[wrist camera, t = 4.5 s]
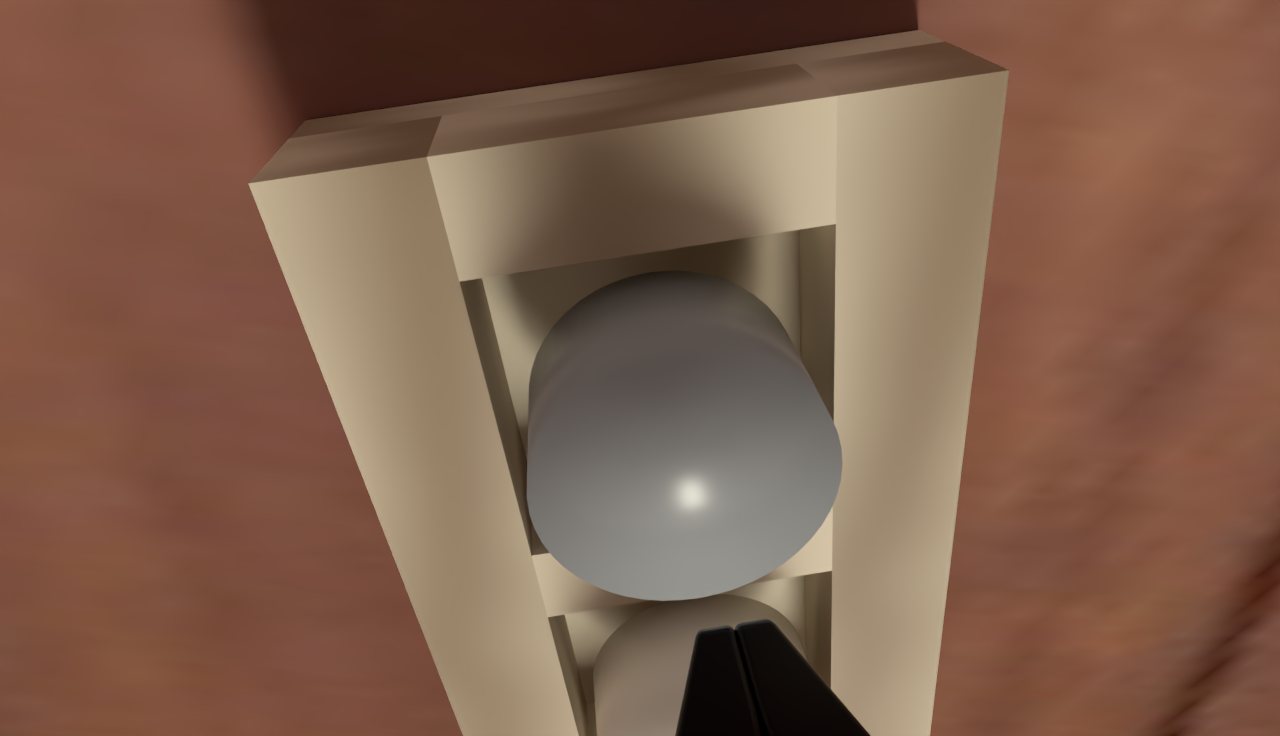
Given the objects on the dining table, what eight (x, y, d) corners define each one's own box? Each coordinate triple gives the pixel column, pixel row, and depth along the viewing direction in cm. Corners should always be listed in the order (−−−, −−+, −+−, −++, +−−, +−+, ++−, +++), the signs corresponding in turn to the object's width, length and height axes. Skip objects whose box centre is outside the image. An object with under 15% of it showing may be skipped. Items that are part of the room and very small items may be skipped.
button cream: (800, 578, 16) (838, 682, 14) (803, 715, 18) (836, 822, 16) (577, 614, 16) (583, 724, 14) (608, 748, 18) (617, 859, 16)
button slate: (794, 250, 12) (845, 327, 10) (798, 475, 15) (840, 575, 13) (503, 295, 12) (495, 381, 10) (554, 514, 15) (556, 621, 12)
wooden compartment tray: (919, 30, 13) (1008, 70, 11) (872, 809, 26) (908, 913, 23) (305, 120, 13) (247, 183, 11) (554, 863, 25) (556, 975, 23)
